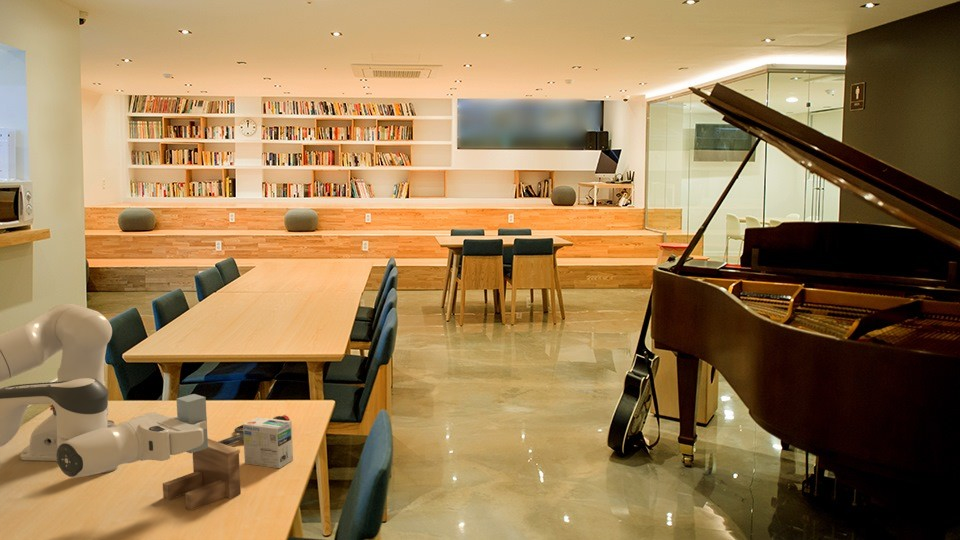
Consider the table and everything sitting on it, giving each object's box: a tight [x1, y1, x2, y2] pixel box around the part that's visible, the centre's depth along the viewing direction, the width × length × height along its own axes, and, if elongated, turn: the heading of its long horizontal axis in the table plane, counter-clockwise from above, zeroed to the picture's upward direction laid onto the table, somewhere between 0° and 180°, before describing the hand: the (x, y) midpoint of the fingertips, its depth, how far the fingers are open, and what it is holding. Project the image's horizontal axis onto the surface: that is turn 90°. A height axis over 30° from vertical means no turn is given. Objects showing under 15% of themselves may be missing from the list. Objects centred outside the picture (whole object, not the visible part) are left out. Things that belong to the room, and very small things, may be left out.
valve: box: [217, 414, 291, 446], centre depth 221 cm, size 6×26×15 cm
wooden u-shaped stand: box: [162, 438, 242, 511], centre depth 182 cm, size 12×14×11 cm
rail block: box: [175, 393, 209, 454], centre depth 179 cm, size 4×4×12 cm
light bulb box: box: [242, 416, 294, 469], centre depth 202 cm, size 11×7×11 cm, turn 71°
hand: (197, 421), depth 180 cm, fingers closed on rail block, 4 cm apart
